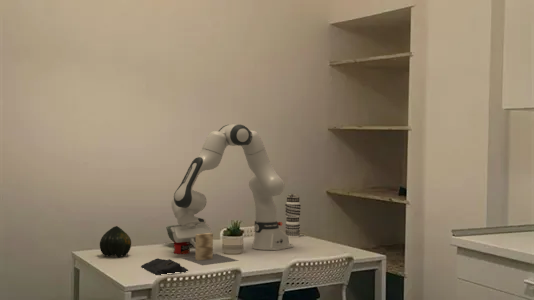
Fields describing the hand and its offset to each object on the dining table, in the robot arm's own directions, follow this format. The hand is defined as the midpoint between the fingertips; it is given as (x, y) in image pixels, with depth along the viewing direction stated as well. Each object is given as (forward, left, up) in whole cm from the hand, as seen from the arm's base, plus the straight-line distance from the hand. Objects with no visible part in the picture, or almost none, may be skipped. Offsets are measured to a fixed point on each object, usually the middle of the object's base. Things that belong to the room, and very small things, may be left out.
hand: (198, 246), depth 308 cm
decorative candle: (-81, -27, -6) cm, 85 cm away
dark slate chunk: (+26, +14, -6) cm, 30 cm away
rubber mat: (-2, +8, -5) cm, 10 cm away
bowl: (-12, -33, -6) cm, 36 cm away
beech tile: (0, +6, -5) cm, 8 cm away
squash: (+31, -26, -6) cm, 41 cm away
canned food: (+1, -14, -6) cm, 15 cm away
